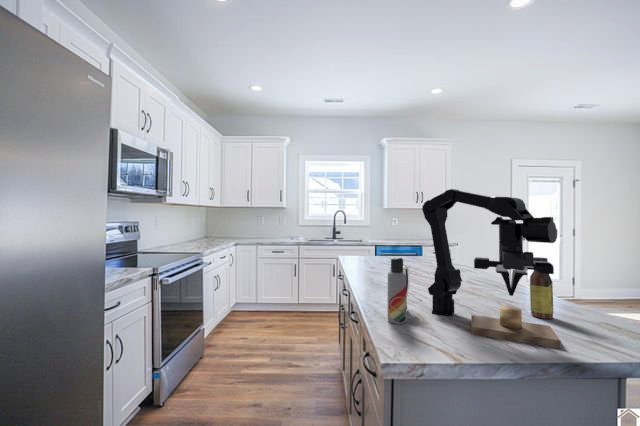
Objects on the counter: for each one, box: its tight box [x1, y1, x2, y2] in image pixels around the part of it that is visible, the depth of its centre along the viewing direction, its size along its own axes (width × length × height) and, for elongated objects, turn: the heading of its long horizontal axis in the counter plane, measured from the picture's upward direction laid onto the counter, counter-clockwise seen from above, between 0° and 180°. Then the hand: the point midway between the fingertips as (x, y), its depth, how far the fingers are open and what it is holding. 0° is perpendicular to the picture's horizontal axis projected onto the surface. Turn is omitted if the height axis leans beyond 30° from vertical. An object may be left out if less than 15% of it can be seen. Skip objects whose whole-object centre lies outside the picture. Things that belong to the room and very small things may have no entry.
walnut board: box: [470, 314, 562, 349], centre depth 84 cm, size 20×12×2 cm, turn 63°
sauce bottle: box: [529, 256, 554, 320], centre depth 100 cm, size 7×6×20 cm
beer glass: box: [389, 266, 411, 312], centre depth 106 cm, size 7×7×15 cm
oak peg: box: [499, 305, 523, 330], centre depth 84 cm, size 5×5×7 cm
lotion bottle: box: [387, 257, 407, 325], centre depth 93 cm, size 6×6×20 cm
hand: (511, 295), depth 84 cm, fingers closed
